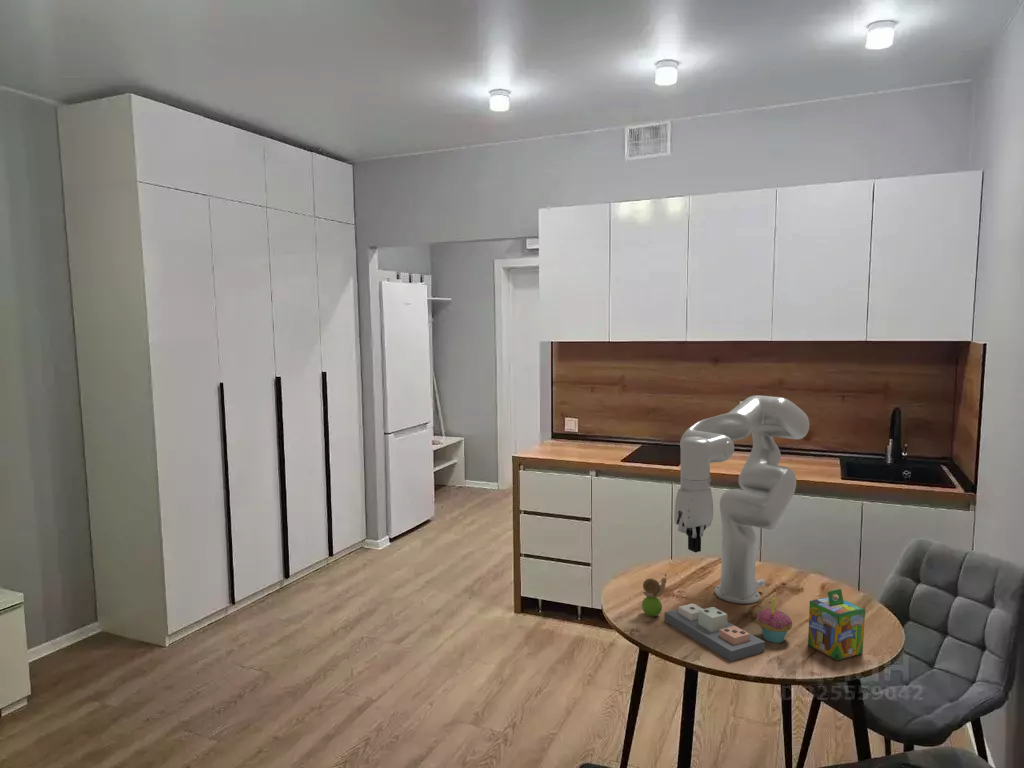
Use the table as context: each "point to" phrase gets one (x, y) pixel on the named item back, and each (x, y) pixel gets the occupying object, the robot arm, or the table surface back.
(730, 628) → the pink dice cube
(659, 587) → the snail figurine
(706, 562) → the table surface
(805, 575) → the table surface
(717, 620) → the two pip tile
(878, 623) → the table surface
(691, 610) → the one pip tile
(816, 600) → the chalk box
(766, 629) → the cupcake
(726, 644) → the button board
